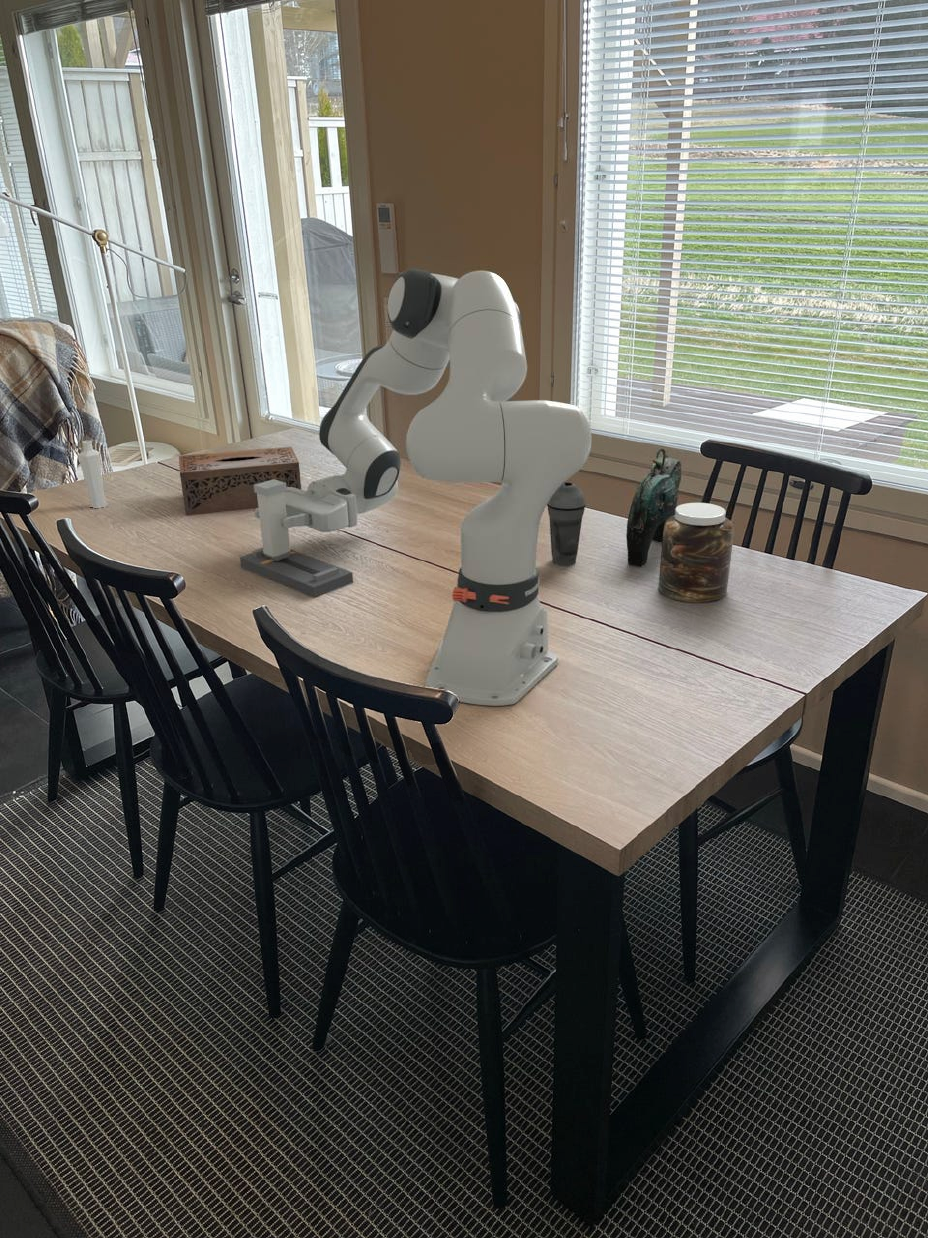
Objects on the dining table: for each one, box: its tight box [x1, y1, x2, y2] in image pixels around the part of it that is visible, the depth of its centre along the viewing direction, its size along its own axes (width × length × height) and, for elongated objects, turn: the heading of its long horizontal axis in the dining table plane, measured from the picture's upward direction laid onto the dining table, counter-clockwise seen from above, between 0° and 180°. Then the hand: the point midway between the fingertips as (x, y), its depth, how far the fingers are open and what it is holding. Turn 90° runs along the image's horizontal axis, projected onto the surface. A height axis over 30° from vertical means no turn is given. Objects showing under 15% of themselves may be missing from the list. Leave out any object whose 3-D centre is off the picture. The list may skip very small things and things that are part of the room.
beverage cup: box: [546, 481, 586, 567], centre depth 174 cm, size 7×7×20 cm
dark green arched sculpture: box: [626, 448, 682, 568], centre depth 179 cm, size 20×6×20 cm, turn 150°
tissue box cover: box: [178, 446, 302, 516], centre depth 213 cm, size 26×14×10 cm, turn 106°
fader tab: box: [254, 479, 291, 561], centre depth 173 cm, size 4×5×14 cm
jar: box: [658, 502, 734, 604], centre depth 162 cm, size 12×12×15 cm
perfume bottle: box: [77, 440, 108, 509], centre depth 209 cm, size 5×4×15 cm
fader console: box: [239, 547, 354, 598], centre depth 173 cm, size 22×9×3 cm, turn 48°
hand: (269, 518), depth 172 cm, fingers open, 6 cm apart
